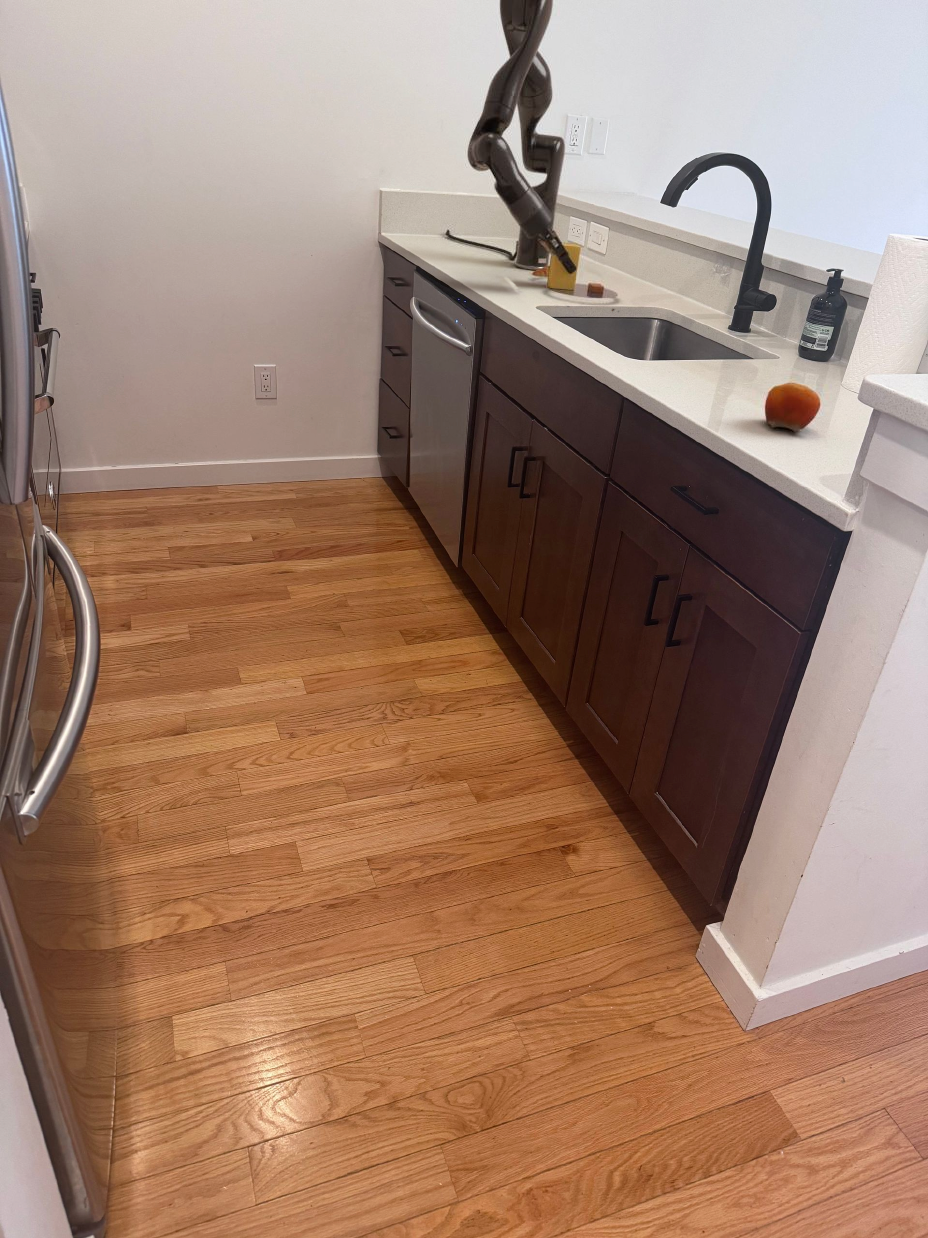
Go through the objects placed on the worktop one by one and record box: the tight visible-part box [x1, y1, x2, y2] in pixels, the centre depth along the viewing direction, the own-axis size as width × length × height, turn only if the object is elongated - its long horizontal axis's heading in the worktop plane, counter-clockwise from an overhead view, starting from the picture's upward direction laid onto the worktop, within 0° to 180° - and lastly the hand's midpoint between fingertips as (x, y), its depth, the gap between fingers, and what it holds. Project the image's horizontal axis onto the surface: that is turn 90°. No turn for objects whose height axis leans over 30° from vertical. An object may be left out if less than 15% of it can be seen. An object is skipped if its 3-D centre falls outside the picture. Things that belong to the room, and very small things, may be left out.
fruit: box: [764, 382, 821, 436], centre depth 136 cm, size 8×8×8 cm
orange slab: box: [587, 282, 605, 293], centre depth 218 cm, size 4×3×2 cm
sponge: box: [546, 242, 582, 290], centre depth 215 cm, size 4×6×10 cm
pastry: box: [532, 265, 550, 278], centre depth 233 cm, size 9×7×4 cm
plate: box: [545, 282, 619, 299], centre depth 218 cm, size 18×18×2 cm
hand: (570, 269), depth 216 cm, fingers closed on sponge, 4 cm apart
